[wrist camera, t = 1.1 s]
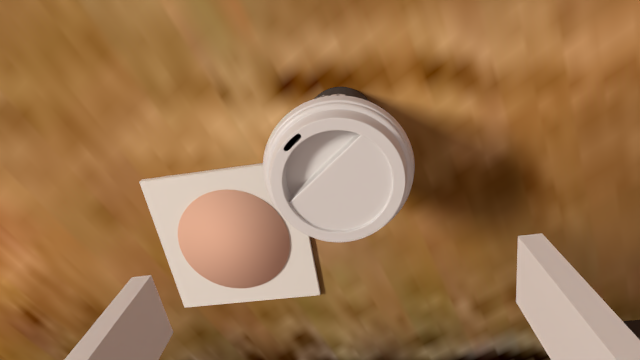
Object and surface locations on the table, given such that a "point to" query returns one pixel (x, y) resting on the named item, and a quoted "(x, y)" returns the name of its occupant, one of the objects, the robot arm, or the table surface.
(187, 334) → the table surface
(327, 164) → the coffee cup
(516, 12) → the table surface
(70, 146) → the table surface
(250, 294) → the coaster mat
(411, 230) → the table surface
